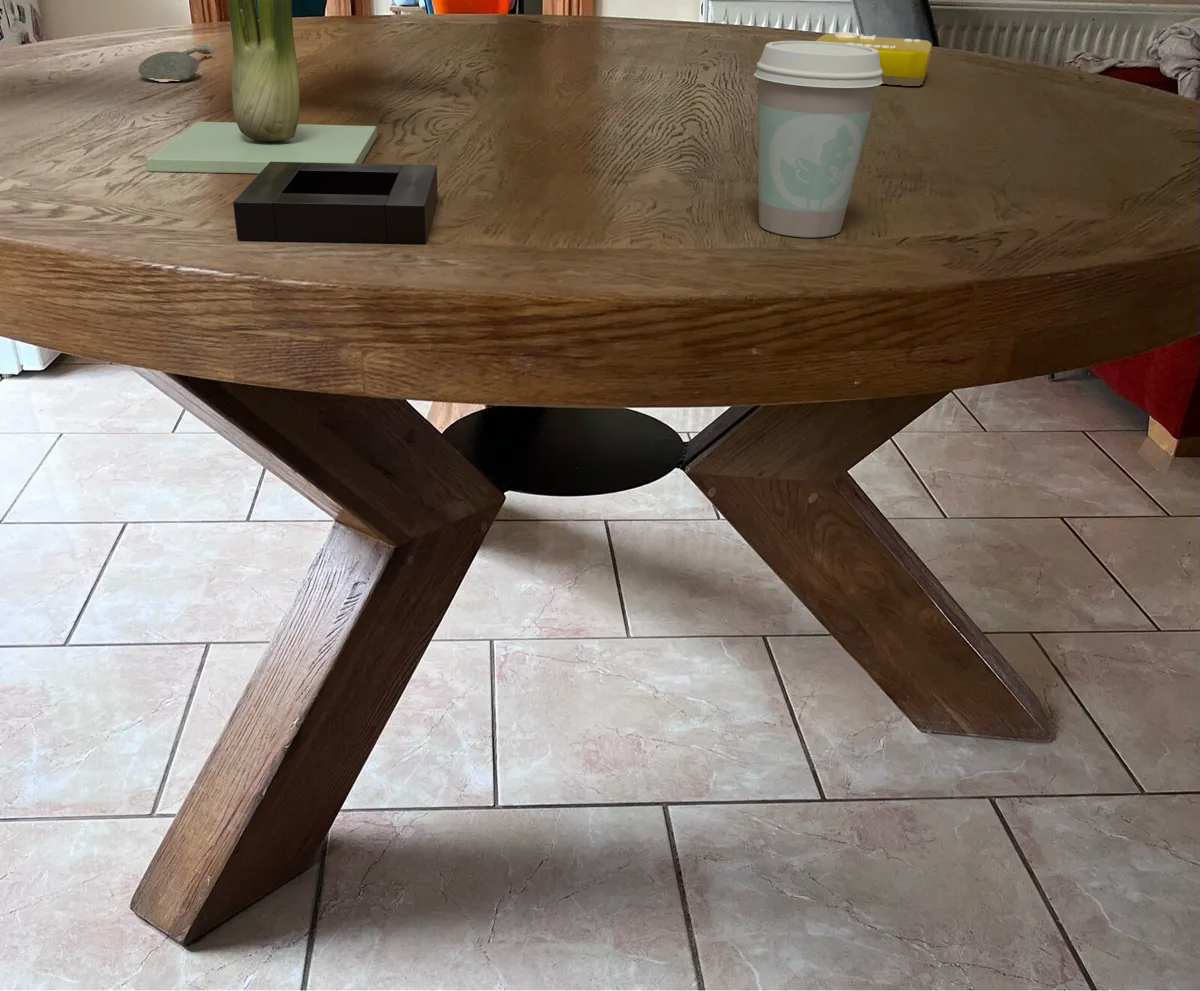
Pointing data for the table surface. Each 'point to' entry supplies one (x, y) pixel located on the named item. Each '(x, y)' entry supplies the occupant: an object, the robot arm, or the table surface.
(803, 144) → the coffee cup
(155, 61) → the soupspoon
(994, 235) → the table surface
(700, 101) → the table surface
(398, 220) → the frame
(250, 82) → the fennel bulb
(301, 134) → the board
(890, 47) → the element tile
